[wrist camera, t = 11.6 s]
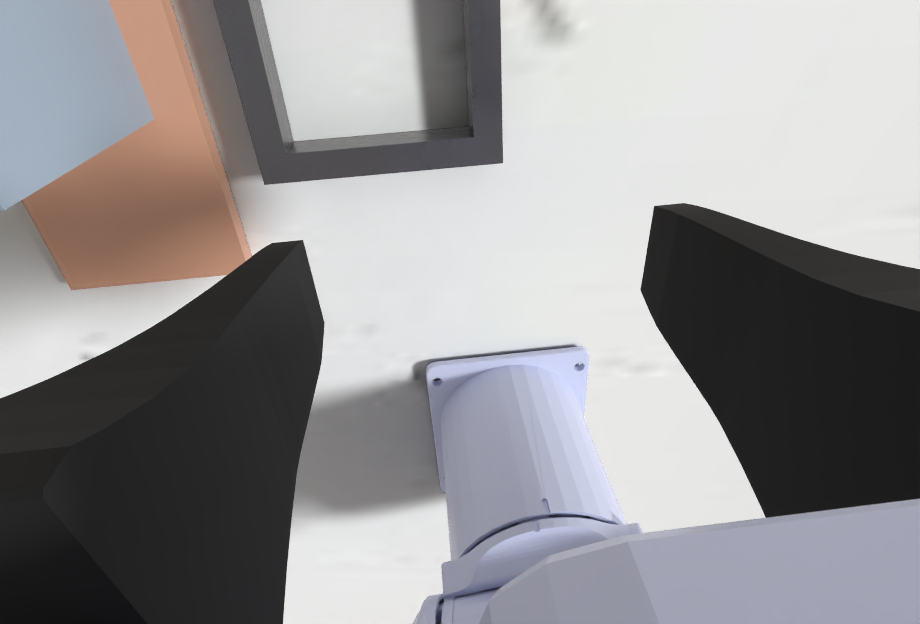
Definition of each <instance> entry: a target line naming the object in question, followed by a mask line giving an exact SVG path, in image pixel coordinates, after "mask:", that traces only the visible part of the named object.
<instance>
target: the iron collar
mask: <svg viewBox="0 0 920 624" xmlns="http://www.w3.org/2000/svg"><path fill="white" fill-rule="evenodd" d="M213 1H214V5H215V8H216V12H217V16H218V19H219V23H220V26H221V30H222V34H223V37H224V41H225V44H226V48H227V52H228V55H229V59H230V62H231V66H232V70H233V73H234V77H235V80H236V84H237V88H238V91H239V95H240V98H241V102H242V106H243V109H244V113H245V116H246V120H247V124H248V127H249V131H250V134H251V138H252V142H253V145H254V149H255V152H256V156H257V160H258V163H259V167H260V170H261V174H262V178H263V181H264V185H267V184H278V183H289V182H300V181H311V180H322V179H333V178H344V177H355V176H366V175H377V174H388V173H399V172H410V171H421V170H432V169H443V168H454V167H465V166H476V165H487V164H498V163H503V143H502V85H501V27H500V0H463V10H464V30H465V50H466V69H467V89H468V108H469V127H457V128H446V129H434V130H423V131H412V132H400V133H389V134H377V135H366V136H355V137H343V138H332V139H320V140H309V141H298V142H294V141H293V137H292V133H291V128H290V124H289V120H288V116H287V111H286V107H285V103H284V99H283V94H282V90H281V86H280V82H279V77H278V73H277V69H276V65H275V60H274V56H273V52H272V48H271V43H270V39H269V35H268V31H267V26H266V22H265V18H264V14H263V9H262V5H261V1H260V0H213Z"/></svg>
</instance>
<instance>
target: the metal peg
mask: <svg viewBox="0 0 920 624" xmlns="http://www.w3.org/2000/svg"><path fill="white" fill-rule="evenodd" d="M152 120H154V116H153V114H152V111H151V108H150V106H149V103H148V101H147V98H146V95H145V93H144V90H143V88H142V85H141V83H140V80H139V77H138V75H137V72H136V70H135V67H134V64H133V62H132V59H131V57H130V54H129V51H128V49H127V46H126V44H125V41H124V38H123V36H122V33H121V31H120V28H119V25H118V23H117V20H116V18H115V15H114V13H113V10H112V7H111V5H110V2H109V0H0V211H5V210H6V209H8V208H10V207H11V206H13V205H15V204H16V203H18V202H20V201H21V200H23V199H24V198H26V197H28V196H29V195H31V194H33V193H34V192H36V191H38V190H39V189H41V188H43V187H44V186H46V185H47V184H49V183H51V182H52V181H54V180H56V179H57V178H59V177H61V176H62V175H64V174H65V173H67V172H69V171H70V170H72V169H74V168H75V167H77V166H79V165H80V164H82V163H84V162H85V161H87V160H88V159H90V158H92V157H93V156H95V155H97V154H98V153H100V152H102V151H103V150H105V149H107V148H108V147H110V146H111V145H113V144H115V143H116V142H118V141H120V140H121V139H123V138H125V137H126V136H128V135H129V134H131V133H133V132H134V131H136V130H138V129H139V128H141V127H143V126H144V125H146V124H148V123H149V122H151V121H152Z"/></svg>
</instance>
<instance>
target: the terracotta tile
mask: <svg viewBox="0 0 920 624" xmlns="http://www.w3.org/2000/svg"><path fill="white" fill-rule="evenodd" d="M109 2H110V5H111V7H112V10H113V13H114V15H115V18H116V20H117V23H118V25H119V28H120V31H121V33H122V36H123V38H124V41H125V44H126V46H127V49H128V51H129V54H130V57H131V59H132V62H133V64H134V67H135V70H136V72H137V75H138V77H139V80H140V83H141V85H142V88H143V90H144V93H145V95H146V98H147V101H148V103H149V106H150V108H151V111H152V114H153V116H154V120H152V121H151V122H149V123H148V124H146V125H144V126H143V127H141V128H139V129H138V130H136V131H134V132H133V133H131V134H129V135H128V136H126V137H125V138H123V139H121V140H120V141H118V142H116V143H115V144H113V145H111V146H110V147H108V148H107V149H105V150H103V151H102V152H100V153H98V154H97V155H95V156H93V157H92V158H90V159H88V160H87V161H85V162H84V163H82V164H80V165H79V166H77V167H75V168H74V169H72V170H70V171H69V172H67V173H65V174H64V175H62V176H61V177H59V178H57V179H56V180H54V181H52V182H51V183H49V184H47V185H46V186H44V187H43V188H41V189H39V190H38V191H36V192H34V193H33V194H31V195H29V196H28V197H26V198H24V199H23V200H22V202H23V203H24V205H25V207H26V209H27V211H28V212H29V214H30V216H31V218H32V220H33V221H34V223H35V225H36V227H37V229H38V231H39V232H40V234H41V236H42V238H43V240H44V241H45V243H46V245H47V247H48V249H49V250H50V252H51V254H52V256H53V258H54V259H55V261H56V263H57V265H58V267H59V269H60V270H61V272H62V274H63V276H64V278H65V279H66V281H67V283H68V285H69V287H70V288H71V290H76V289H87V288H97V287H107V286H117V285H128V284H138V283H148V282H158V281H169V280H179V279H189V278H199V277H210V276H220V275H228V274H229V273H231V272H232V271H233V270H235V269H236V268H237V267H239V266H240V265H241V264H243V263H244V262H245V261H247V260H248V259H249V258H251V257H252V255H251V252H250V249H249V245H248V242H247V239H246V236H245V233H244V230H243V226H242V223H241V220H240V217H239V214H238V211H237V207H236V204H235V201H234V198H233V195H232V192H231V189H230V185H229V182H228V179H227V176H226V173H225V170H224V166H223V163H222V160H221V157H220V154H219V151H218V147H217V144H216V141H215V138H214V135H213V132H212V128H211V125H210V122H209V119H208V116H207V113H206V110H205V106H204V103H203V100H202V97H201V94H200V91H199V87H198V84H197V81H196V78H195V75H194V72H193V68H192V65H191V62H190V59H189V56H188V53H187V49H186V46H185V43H184V40H183V37H182V34H181V31H180V27H179V24H178V21H177V18H176V15H175V12H174V8H173V5H172V2H171V0H109Z"/></svg>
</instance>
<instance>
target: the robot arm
mask: <svg viewBox="0 0 920 624" xmlns="http://www.w3.org/2000/svg"><path fill="white" fill-rule="evenodd" d="M641 292H642V294H643V297H644V299H645V302H646V304H647V306H648V309H649V311H650V313H651V315H652V317H653V319H654V321H655V323H656V326H657V327H658V329H659V331H660V332H661V334H662V335H663V337H664V338H665V340H666V341H667V343H668V344H669V346H670V348H671V349H672V351H673V352H674V354H675V355H676V357H677V358H678V360H679V361H680V363H681V364H682V366H683V367H684V369H685V370H686V371H687V373H688V374H689V376H690V377H691V379H692V380H693V382H694V383H695V385H696V386H697V388H698V389H699V391H700V392H701V394H702V395H703V397H704V398H705V400H706V401H707V403H708V404H709V406H710V407H711V409H712V411H713V412H714V414H715V416H716V417H717V419H718V421H719V422H720V424H721V426H722V428H723V430H724V432H725V434H726V436H727V438H728V440H729V442H730V444H731V446H732V447H733V449H734V451H735V453H736V455H737V457H738V459H739V461H740V463H741V465H742V467H743V469H744V471H745V474H746V476H747V478H748V480H749V482H750V484H751V486H752V488H753V491H754V493H755V495H756V497H757V499H758V501H759V503H760V506H761V508H762V510H763V512H764V514H765V517H766V518H761V519H753V520H745V521H737V522H729V523H721V524H713V525H705V526H696V527H688V528H680V529H672V530H664V531H656V532H648V533H643V531H642V529H641V526H640V524H638V523H633V524H627V523H626V520H625V518H624V515H623V513H622V510H621V508H620V505H619V503H618V500H617V498H616V496H615V493H614V491H613V488H612V486H611V483H610V481H609V478H608V476H607V473H606V471H605V468H604V466H603V463H602V461H601V458H600V456H599V453H598V451H597V448H596V446H595V443H594V441H593V438H592V436H591V433H590V431H589V428H588V426H587V423H586V421H585V418H584V414H585V404H586V393H587V383H588V372H589V362H590V355H589V352H588V350H587V349H586V348H584V347H570V348H560V349H551V350H541V351H532V352H522V353H513V354H504V355H494V356H485V357H475V358H466V359H456V360H447V361H437V362H432V363H430V364H429V365H428V366H427V367H426V379H427V387H428V394H429V402H430V410H431V418H432V426H433V433H434V441H435V449H436V457H437V465H438V472H439V480H440V488H441V491H442V492H444V493H446V502H447V515H448V527H449V539H450V552H451V561H448V562H444V563H443V564H442V582H443V594H438V595H432V596H429V597H427V598H426V599H425V600H424V602H423V604H422V607H421V610H420V611H419V613H418V615H417V616H416V618H415V620H414V622H413V624H920V269H915V268H910V267H905V266H900V265H896V264H891V263H887V262H883V261H878V260H874V259H869V258H865V257H861V256H857V255H853V254H849V253H845V252H841V251H838V250H834V249H831V248H827V247H824V246H821V245H817V244H814V243H810V242H807V241H804V240H800V239H797V238H794V237H791V236H788V235H785V234H782V233H779V232H776V231H773V230H770V229H767V228H764V227H761V226H758V225H755V224H752V223H749V222H746V221H744V220H741V219H738V218H735V217H732V216H729V215H726V214H723V213H720V212H717V211H713V210H710V209H707V208H703V207H699V206H695V205H690V204H684V203H682V204H671V205H661V206H654V211H653V217H652V224H651V230H650V236H649V242H648V248H647V254H646V260H645V267H644V273H643V279H642V285H641ZM323 335H324V320H323V316H322V312H321V308H320V305H319V301H318V297H317V293H316V289H315V285H314V281H313V277H312V274H311V270H310V266H309V262H308V258H307V254H306V250H305V246H304V243H303V240H300V241H289V242H279V243H272V244H270V245H268V246H266V247H265V248H263V249H262V250H260V251H259V252H257V253H256V254H255V255H253V256H252V257H251V258H249V259H248V260H247V261H245V262H244V263H243V264H241V265H240V266H239V267H237V268H236V269H235V270H233V271H232V272H231V273H229V274H228V275H227V276H226V277H224V278H223V279H222V280H220V281H219V282H218V283H216V284H215V285H214V286H212V287H211V288H210V289H208V290H207V291H205V292H204V293H202V294H201V295H199V296H198V297H197V298H195V299H194V300H192V301H191V302H189V303H188V304H186V305H185V306H184V307H182V308H181V309H179V310H178V311H176V312H175V313H173V314H172V315H170V316H169V317H167V318H166V319H164V320H163V321H161V322H159V323H158V324H156V325H154V326H153V327H151V328H149V329H148V330H146V331H144V332H142V333H141V334H139V335H137V336H135V337H133V338H132V339H130V340H128V341H126V342H124V343H123V344H121V345H119V346H117V347H115V348H113V349H111V350H109V351H107V352H105V353H103V354H101V355H99V356H97V357H95V358H92V359H90V360H88V361H86V362H84V363H82V364H80V365H78V366H76V367H73V368H71V369H69V370H67V371H65V372H63V373H61V374H59V375H57V376H54V377H52V378H50V379H48V380H45V381H43V382H40V383H38V384H36V385H33V386H31V387H28V388H26V389H23V390H21V391H18V392H16V393H14V394H11V395H8V396H6V397H3V398H1V399H0V624H283V612H284V599H285V585H286V571H287V560H288V549H289V539H290V528H291V518H292V509H293V500H294V492H295V483H296V474H297V468H298V463H299V457H300V452H301V448H302V444H303V439H304V435H305V431H306V427H307V422H308V418H309V414H310V410H311V405H312V401H313V397H314V393H315V388H316V384H317V380H318V375H319V371H320V366H321V360H322V349H323ZM577 363H582V364H580V365H579V366H575V365H576V364H577ZM436 378H440V379H441V380H439V381H434V379H436Z"/></svg>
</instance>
